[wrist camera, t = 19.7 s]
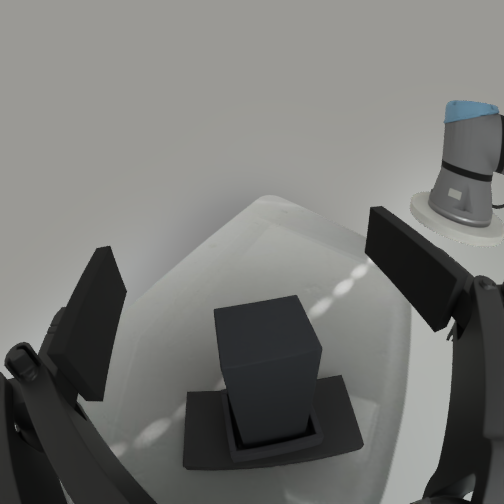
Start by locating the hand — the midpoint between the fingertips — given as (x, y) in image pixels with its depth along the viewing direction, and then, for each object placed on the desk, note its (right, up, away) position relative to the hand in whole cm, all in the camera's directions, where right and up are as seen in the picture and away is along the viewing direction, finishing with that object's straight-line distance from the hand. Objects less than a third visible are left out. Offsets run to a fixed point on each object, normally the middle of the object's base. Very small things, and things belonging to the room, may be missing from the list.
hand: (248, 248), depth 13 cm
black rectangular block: (+1, -12, +3) cm, 12 cm away
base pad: (+1, -13, +4) cm, 13 cm away
